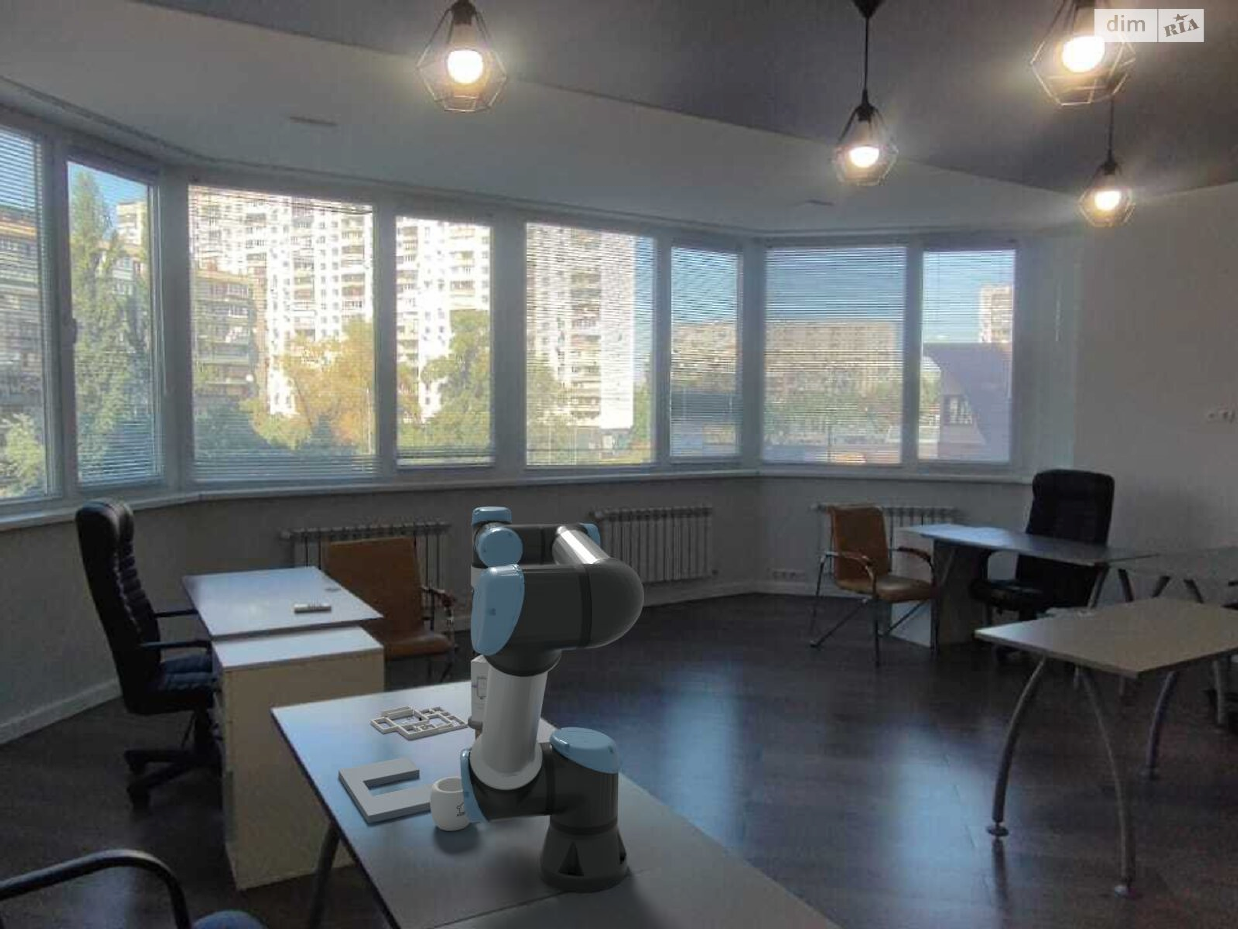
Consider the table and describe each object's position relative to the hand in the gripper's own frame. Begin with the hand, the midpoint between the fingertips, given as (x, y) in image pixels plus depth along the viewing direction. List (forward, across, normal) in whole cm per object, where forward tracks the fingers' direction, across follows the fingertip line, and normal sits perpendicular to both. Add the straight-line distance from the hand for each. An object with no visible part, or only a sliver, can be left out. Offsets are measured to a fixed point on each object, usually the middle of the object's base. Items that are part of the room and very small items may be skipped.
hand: (490, 702), depth 166 cm
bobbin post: (+22, +10, -3) cm, 24 cm away
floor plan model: (+23, +53, +4) cm, 58 cm away
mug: (+22, -2, +6) cm, 23 cm away
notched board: (+22, +17, +15) cm, 32 cm away
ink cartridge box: (+3, 0, 0) cm, 3 cm away
